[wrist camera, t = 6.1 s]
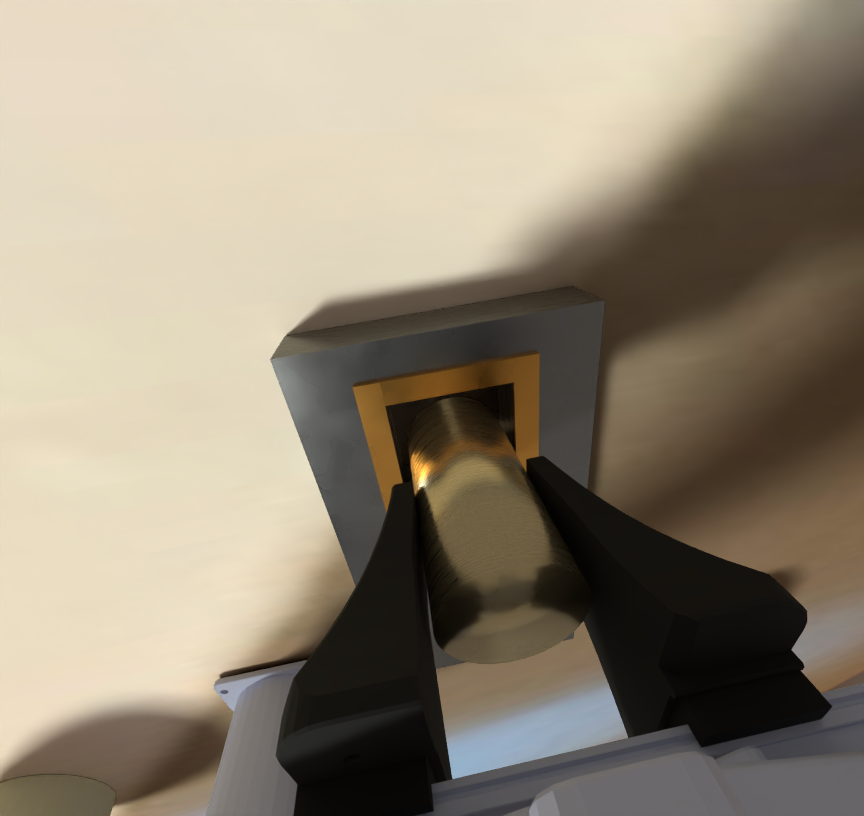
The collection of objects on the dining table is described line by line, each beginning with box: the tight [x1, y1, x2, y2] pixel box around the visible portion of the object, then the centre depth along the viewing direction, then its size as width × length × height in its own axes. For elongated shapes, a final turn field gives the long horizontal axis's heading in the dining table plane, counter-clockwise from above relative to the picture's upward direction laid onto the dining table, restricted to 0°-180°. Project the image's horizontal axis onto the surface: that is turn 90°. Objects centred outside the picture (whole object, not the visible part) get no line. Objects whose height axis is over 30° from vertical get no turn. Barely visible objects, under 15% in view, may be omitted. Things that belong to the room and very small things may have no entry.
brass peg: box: [407, 397, 591, 664], centre depth 13 cm, size 4×4×8 cm
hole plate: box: [270, 286, 605, 669], centre depth 20 cm, size 22×12×3 cm, turn 8°
